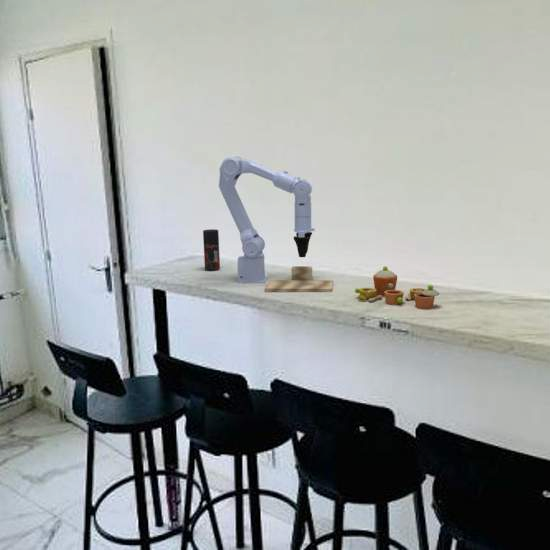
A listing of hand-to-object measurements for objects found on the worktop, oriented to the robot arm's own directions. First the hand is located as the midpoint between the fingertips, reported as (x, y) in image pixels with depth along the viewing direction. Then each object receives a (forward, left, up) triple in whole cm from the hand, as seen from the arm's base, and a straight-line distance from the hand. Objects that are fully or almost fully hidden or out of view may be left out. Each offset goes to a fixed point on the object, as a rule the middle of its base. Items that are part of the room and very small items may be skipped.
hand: (303, 254), depth 209 cm
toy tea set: (+31, -26, -10) cm, 42 cm away
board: (0, -10, -9) cm, 14 cm away
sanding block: (0, 0, -10) cm, 10 cm away
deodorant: (-37, +21, -10) cm, 44 cm away
